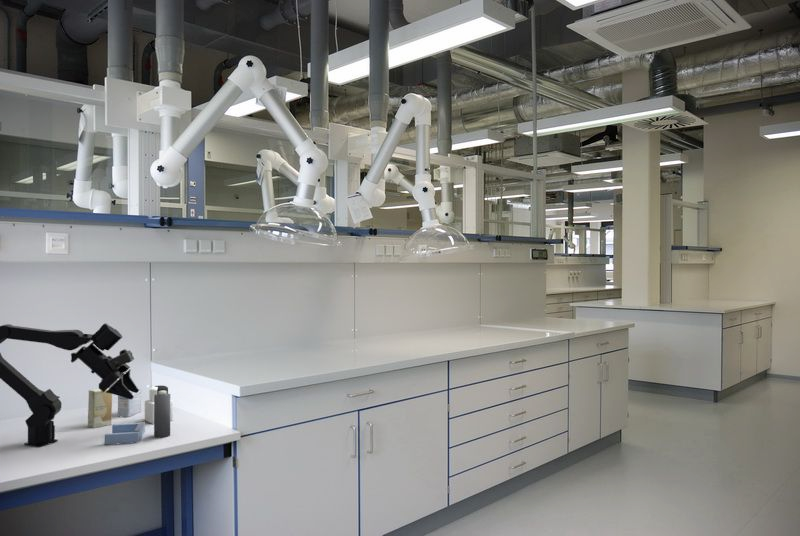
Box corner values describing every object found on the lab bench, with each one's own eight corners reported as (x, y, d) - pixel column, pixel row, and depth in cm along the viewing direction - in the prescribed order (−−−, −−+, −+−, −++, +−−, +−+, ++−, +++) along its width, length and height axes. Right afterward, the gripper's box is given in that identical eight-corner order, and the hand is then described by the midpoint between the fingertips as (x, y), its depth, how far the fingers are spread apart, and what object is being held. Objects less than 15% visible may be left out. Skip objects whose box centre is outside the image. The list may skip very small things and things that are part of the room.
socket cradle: (104, 444, 179) (104, 434, 179) (113, 433, 191) (113, 423, 191) (138, 442, 182) (138, 431, 182) (144, 431, 194) (144, 421, 194)
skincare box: (93, 428, 197) (93, 391, 197) (87, 426, 200) (87, 390, 200) (112, 424, 202) (112, 388, 202) (106, 422, 205) (106, 387, 205)
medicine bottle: (164, 416, 212) (164, 383, 212) (173, 420, 207) (173, 386, 207) (144, 420, 207) (144, 386, 207) (152, 424, 202) (152, 389, 202)
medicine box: (130, 411, 220) (130, 388, 220) (141, 412, 219) (141, 388, 219) (117, 417, 212) (117, 392, 212) (128, 417, 212) (128, 393, 211)
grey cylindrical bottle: (162, 438, 186) (162, 393, 186) (150, 436, 188) (150, 392, 188) (173, 434, 191) (173, 390, 191) (161, 432, 192) (161, 389, 192)
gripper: (110, 346, 177) (150, 381, 179) (122, 338, 195) (158, 371, 197) (81, 373, 175) (121, 409, 177) (96, 363, 193) (133, 395, 196)
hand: (135, 395), depth 187 cm, fingers open, 9 cm apart
